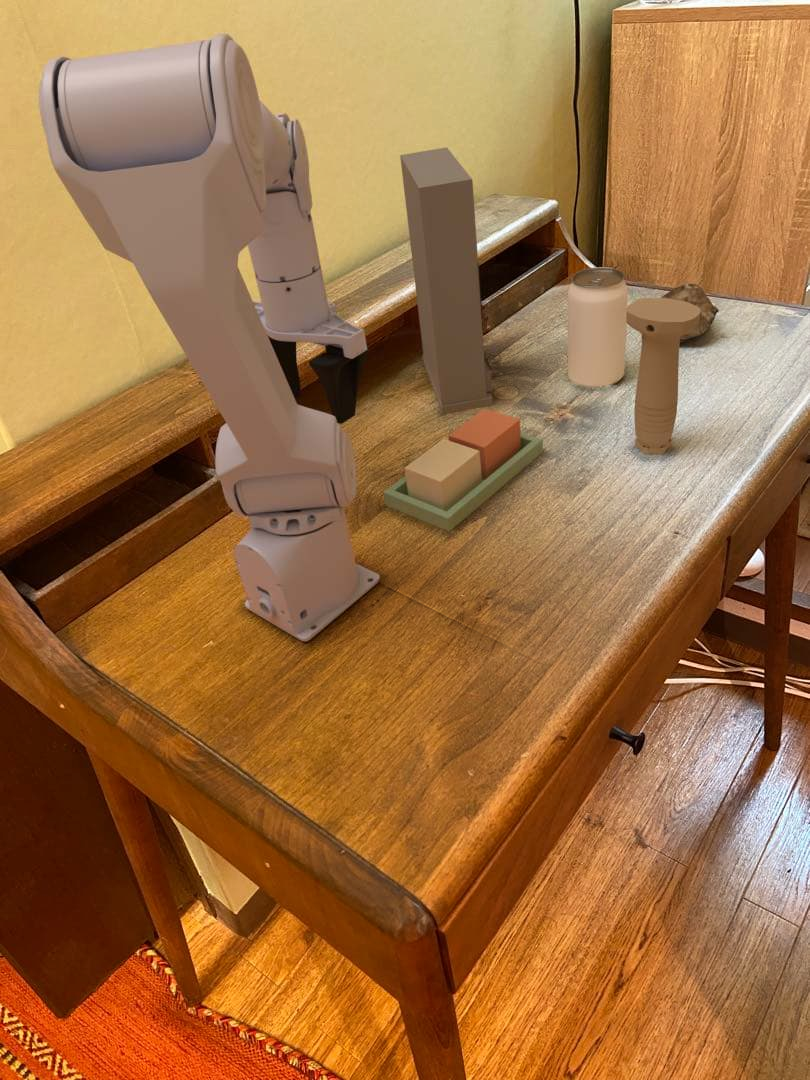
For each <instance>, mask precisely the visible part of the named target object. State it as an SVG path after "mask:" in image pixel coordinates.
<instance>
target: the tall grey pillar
mask: <svg viewBox="0 0 810 1080" xmlns="http://www.w3.org/2000/svg"><path fill="white" fill-rule="evenodd" d="M399 158H400V166H401V175H402V185H403V191H404V200H405V201H404V202H405V209H406V218H407V225H408V226H407V227H408V234H409V243H410V252H411V261H412V268H413V276H414V277H413V279H414V287H415V295H416V294H417V295H416V303H417V302H418V304H417V311H418V321H419V328H420V329H419V330H420V337H421V346H422V362H423V363H422V364H423V366H424V368H425V371H426V373H427V377H428V380H429V382H430V384H431V385H430V386H431V387H432V391H433V393H434V396H435V399H436V401H437V405H438V407H439V410H440V413H441V415H448V414H453V413H459V412H464V411H470V410H475V409H480V408H487V407H493V406H494V402H493V396H492V394H491V392H493V382H492V366H491V364H490V362H489V360H488V358H487V357H486V353H485V347H484V333H483V331H484V319H483V318H484V317H483V304H482V287H481V274H480V273H481V272H480V263H479V256H478V241H477V240H478V239H477V226H476V224H477V223H476V212H475V197H474V181H473V178H472V177H471V176H470V174H469V173H468V172H467V170H465V168H464V167H463V165H462V164H461V163H460V162H459V160H457V157H455V156H454V154H453V153H452V152H451V150H450V149H449V148H448V147H441V148H435V149H428V150H422V151H416V152H410V153H404V154H399Z"/></svg>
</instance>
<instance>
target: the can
mask: <svg viewBox="0 0 810 1080" xmlns="http://www.w3.org/2000/svg"><path fill="white" fill-rule="evenodd" d="M628 299H629V288H628V285H627V283H626V281H625V273H624V272H623V271H622V270H620V269H617V268H615V267H606V266H596V267H595V266H594V267H588V268H584V269H581V270H579V271H577V272H575V273H574V274H573V275H572V276H571V284H570V286H569V288H568V291H567V376H568V378H569V380H570V381H572V382H573V383H575V384H578V385H581V386H585V387H605V386H608V385H615V384H618V382H619V381H620V380H621V379H623V377H624V376H625V364H626V345H627V342H626V341H627V325H628V324H627V321H626V314H627V307H628V304H629V303H628Z"/></svg>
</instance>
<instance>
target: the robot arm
mask: <svg viewBox="0 0 810 1080" xmlns="http://www.w3.org/2000/svg"><path fill="white" fill-rule="evenodd" d="M254 76H255V75H254V73H253V70H252V66H251V63H250V60H249V59H248V56H247V54H246V52H245V50H244V49H243V48H242V46H240V44H238V43H237V41H235V40H234V39H233V37H232V36H231V35H230V34H228V33H217V34H216V33H215V34H214V35H213V37H212V38H211V39H205V40H196V41H190V42H184V43H183V42H182V43H176V44H170V45H163V46H155V47H148V48H142V49H136V50H127V51H121V52H114V53H107V54H101V55H94V56H93V55H92V56H87V57H79V58H69V57H66V56H58V57H53V58H50V59H49V60H48V61H47V63H46V64H45V66H44V68H43V72H42V75H41V79H40V82H39V87H38V106H39V107H38V108H39V113H40V120H41V124H42V128H43V132H44V135H45V139H46V145H47V149H48V155H49V158H50V161H51V164H52V167H53V169H54V171H55V173H56V175H57V176H58V178H59V179H60V182H61V183H62V185H63V186H64V188H65V190H66V191H67V192H68V194H69V195H70V198H71V199H72V200H73V202H74V204H75V205H76V207H77V208H78V211H80V213H81V215H82V216H83V218H84V219H85V221H86V223H87V225H88V226H89V228H91V230H92V231H93V232H94V234H95V236H96V238H97V239H98V241H99V242H100V244H101V245H102V248H103V249H105V250H106V251H108V252H110V253H112V254H114V255H116V256H118V257H120V258H123V259H124V260H125V261H128V262H130V263H132V265H133V266H134V267H135V269H136V271H137V273H138V276H139V277H140V279H141V281H142V282H143V284H144V287H145V288H146V290H147V292H148V294H149V295H150V297H151V299H152V301H153V302H154V304H155V306H156V307H157V309H158V311H159V313H160V314H161V315H162V317H163V319H164V321H165V322H166V325H167V326H168V328H169V329H170V331H171V333H172V334H173V336H174V337H175V339H176V341H177V343H178V345H179V346H180V348H181V349H182V351H183V353H184V355H185V356H186V358H187V359H188V361H189V364H191V367H192V368H193V370H194V371H195V373H196V374H197V376H198V378H199V379H200V381H201V383H202V385H203V386H204V388H205V390H206V392H207V393H208V395H209V396H210V398H211V399H212V401H213V403H214V405H215V406H216V408H217V410H218V411H219V413H220V414H221V416H222V418H223V420H224V422H225V423H224V424H223V425H222V426H221V427H220V428H219V432H218V436H217V440H216V444H215V445H216V446H215V458H214V459H215V463H214V464H215V474H216V476H217V478H218V479H219V482H220V484H221V488H222V492H223V495H224V496H223V497H224V499H225V502H226V504H227V505H228V507H229V508H230V509H231V510H232V511H233V512H234V514H235V515H236V516H238V517H241V518H242V517H247V518H248V522H249V525H250V529H249V531H248V532H247V533H246V534H245V535H244V536H243V538H242V539H241V540H240V541H239V542H238V543H237V544H236V545H235V547H234V548H233V558H234V562H235V566H236V569H237V571H238V574H239V578H240V581H241V584H242V586H243V590H244V593H245V596H246V600H245V602H244V607H245V609H247V610H248V611H250V612H252V613H254V614H255V615H257V616H258V617H261V618H262V619H264V620H265V621H267V622H269V623H271V624H272V625H274V626H275V627H277V628H279V629H280V630H282V631H284V632H286V633H287V634H289V635H291V636H292V637H294V638H296V639H297V640H299V641H301V642H308V641H310V640H311V639H313V638H314V637H315V636H316V635H317V634H319V633H320V632H321V631H322V630H324V629H325V628H326V627H327V626H328V625H329V624H331V623H332V622H333V621H334V620H335V619H337V618H338V617H339V616H340V615H341V614H343V613H344V612H345V611H346V610H347V609H349V607H351V606H352V605H354V604H355V603H356V602H357V601H358V600H359V599H360V598H361V597H363V596H364V595H365V594H366V593H368V592H369V591H370V590H371V589H373V588H374V586H376V585H377V584H378V583H379V582H380V579H381V575H380V574H379V573H378V572H375V571H373V570H371V569H369V568H367V567H365V566H363V565H360V564H359V563H356V559H355V553H354V548H353V543H352V539H351V534H350V530H349V524H348V519H347V514H346V510H345V508H348V507H350V506H351V503H353V501H354V500H355V498H356V495H357V470H356V469H357V468H356V461H355V453H354V447H353V443H352V440H351V436H350V435H349V434H348V433H347V432H346V431H345V430H344V429H343V428H342V426H341V425H342V424H344V423H345V422H347V421H349V420H351V419H352V418H353V417H355V416H356V411H357V410H356V409H357V398H358V391H359V383H360V380H361V379H360V378H361V375H362V372H363V368H364V367H365V366H364V365H365V363H366V361H367V359H368V356H369V354H370V345H369V343H368V342H367V339H366V334H365V329H363V328H360V327H357V326H356V325H354V324H352V323H350V322H349V321H347V320H346V319H344V318H343V317H342V316H341V315H338V314H337V313H336V312H337V306H336V303H334V302H331V301H329V300H328V297H327V291H326V286H325V281H324V280H325V279H324V277H323V270H322V265H321V259H320V254H319V249H318V248H319V247H318V244H317V238H316V233H315V228H314V222H313V217H312V209H313V206H314V205H313V195H312V189H311V183H310V162H309V154H308V147H307V143H306V137H305V134H304V130H303V127H302V125H301V123H300V121H299V120H298V119H296V118H295V119H294V120H291V119H290V117H289V115H288V114H287V113H286V112H285V113H278V114H274V113H273V112H272V111H271V110H270V109H269V108H268V107H267V106H266V105H265V104H264V103H263V102H262V101H261V100H260V98H259V97H260V96H259V93H258V88H257V83H256V80H255V77H254ZM245 248H248V252H249V256H250V260H251V265H252V269H253V272H254V277H255V282H256V285H257V291H258V294H259V298H260V301H256V300H254V301H253V298H252V297H251V293H250V291H249V289H248V287H247V285H246V282H245V280H244V278H243V275H242V273H241V271H240V268H239V266H238V264H239V255H240V253H241V252H242V251H243V250H244V249H245ZM297 343H310V344H315V345H318V346H322V347H324V348H325V349H324V350H325V351H324V352H322V353H320V354H319V355H316V357H315V356H314V357H313V358H311V359H310V360H309V361H308V364H309V366H310V368H311V369H312V370H313V372H314V373H315V375H316V376H317V378H318V379H319V381H320V383H321V385H322V387H323V390H324V393H325V395H326V398H327V402H328V405H329V409H330V412H331V414H330V413H328V412H324V411H320V410H317V409H313V408H309V407H306V406H304V405H301V404H298V403H297V401H296V399H298V398H299V397H301V380H300V379H301V378H300V374H299V367H298V360H297V357H298V356H297Z"/></svg>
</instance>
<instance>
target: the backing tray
mask: <svg viewBox="0 0 810 1080" xmlns="http://www.w3.org/2000/svg"><path fill="white" fill-rule="evenodd" d="M520 437H521V451H519V452H518V453H517V454H516V455H514V456H513V457H512V458H511V459H510V460H508V461H507V462H506V463H505V464H504V465H502V466H501V467H500V468H499V469H498V470H496V471H495V472H494V473H493V474H491V475H490V476H489V477H488V478H487V479H485V480H483V479H482V483H481V484H479V485H478V486H477V487H476V488H475V489H473V490H472V491H471V492H470V493H468V494H467V495H466V496H465V497H464V498H462V499H461V500H460V501H459V502H458V503H456V504H455V505H454V506H453V507H452V508H450V509H449V510H448V511H444V510H442V509H439V508H437V507H434V506H432V505H429V504H427V503H424V502H422V501H419V500H417V499H414V498H412V497H409V496H408V489H407V482H406V476H405V475H404V476H403V477H401V478H400V479H398V480H397V481H396V482H394V483H393V484H392V485H390V486H389V487H388V488H386V489H385V490H384V491H382V494H383V495H382V496H383V501H384V504H385V505H384V506H387V507H389V508H392V509H394V510H397V511H398V512H401V513H404V514H406V515H409V516H411V517H413V518H416V519H418V520H421V521H423V522H425V523H427V524H430V525H432V526H435V527H437V528H439V529H441V530H445V531H446V532H451V531H452V530H454V529H455V527H457V526H458V525H459V524H460V523H462V522H463V521H464V520H465V519H467V517H469V516H470V515H471V514H472V513H474V511H476V510H477V509H478V508H479V507H481V506H482V505H483V504H484V503H485V502H486V501H488V500H489V499H490V498H491V497H492V496H493V495H494V494H496V493H497V492H498V491H499V490H500V489H502V488H503V487H504V486H505V485H506V484H507V483H509V482H510V481H512V479H513V478H515V477H516V476H517V475H519V473H520V472H522V471H523V470H524V469H525V468H526V467H527V466H529V465H530V464H531V463H532V462H533V461H534V460H536V459H537V458H538V457H539V456H540V455H542V454H543V453H544V439H543V438H540V437H537V436H534V435H530V434H528V433H524V432H521V431H520Z"/></svg>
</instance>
